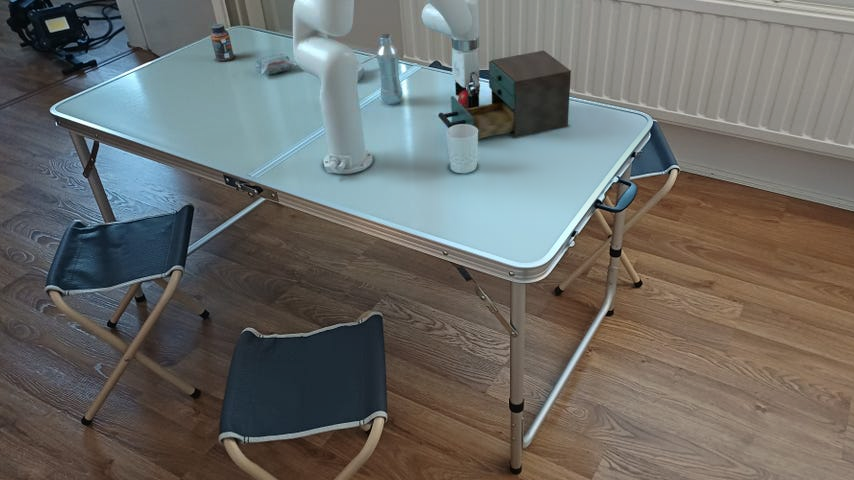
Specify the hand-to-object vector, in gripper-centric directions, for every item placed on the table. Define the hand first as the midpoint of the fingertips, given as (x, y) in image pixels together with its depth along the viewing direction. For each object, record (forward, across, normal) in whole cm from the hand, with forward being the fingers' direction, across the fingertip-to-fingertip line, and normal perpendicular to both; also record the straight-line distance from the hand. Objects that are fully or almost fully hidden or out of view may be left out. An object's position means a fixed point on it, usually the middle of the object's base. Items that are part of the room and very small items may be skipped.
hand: (467, 101), depth 209 cm
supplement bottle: (+3, -73, -60) cm, 95 cm away
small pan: (+3, -39, -23) cm, 46 cm away
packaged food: (+3, -53, -46) cm, 70 cm away
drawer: (+2, +14, -2) cm, 14 cm away
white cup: (+3, +31, -13) cm, 34 cm away
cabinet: (+2, +14, +13) cm, 19 cm away
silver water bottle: (+3, -14, -18) cm, 23 cm away
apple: (+2, 0, 0) cm, 3 cm away
